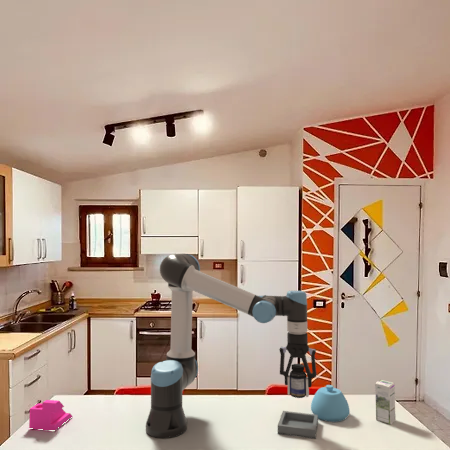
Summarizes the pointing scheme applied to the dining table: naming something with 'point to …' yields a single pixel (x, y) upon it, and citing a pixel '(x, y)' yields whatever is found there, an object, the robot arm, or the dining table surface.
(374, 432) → the dining table surface
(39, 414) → the bracket
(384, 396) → the syrup box
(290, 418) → the bin
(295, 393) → the pill bottle
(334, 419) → the sugar bowl
